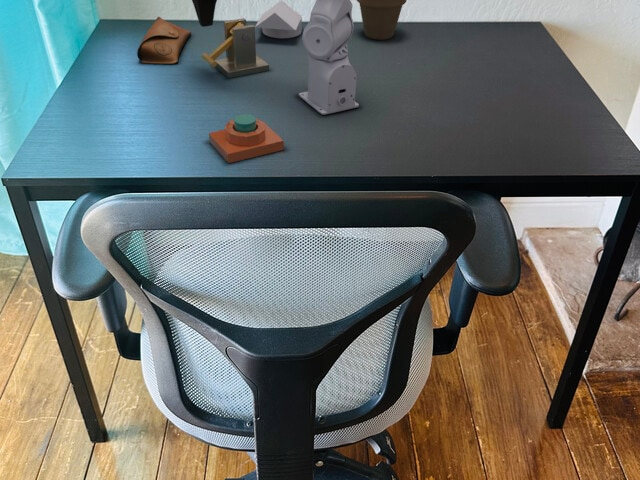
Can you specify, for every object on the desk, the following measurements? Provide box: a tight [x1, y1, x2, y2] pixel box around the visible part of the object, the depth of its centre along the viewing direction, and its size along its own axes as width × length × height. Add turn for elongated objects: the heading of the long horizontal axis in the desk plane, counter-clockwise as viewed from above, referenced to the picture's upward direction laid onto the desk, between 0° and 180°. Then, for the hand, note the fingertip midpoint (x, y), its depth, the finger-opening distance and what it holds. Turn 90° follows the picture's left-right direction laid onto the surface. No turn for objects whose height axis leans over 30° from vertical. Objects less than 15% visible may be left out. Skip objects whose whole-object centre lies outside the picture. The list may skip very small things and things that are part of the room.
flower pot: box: [356, 0, 407, 41], centre depth 148 cm, size 12×11×10 cm
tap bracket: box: [214, 17, 270, 79], centre depth 132 cm, size 9×7×9 cm
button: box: [233, 113, 257, 133], centre depth 108 cm, size 4×4×2 cm
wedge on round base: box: [254, 0, 303, 39], centre depth 148 cm, size 9×7×13 cm
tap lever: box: [201, 22, 244, 68], centre depth 131 cm, size 10×5×2 cm, turn 120°
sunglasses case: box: [136, 16, 192, 65], centre depth 141 cm, size 18×7×7 cm, turn 0°
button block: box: [208, 118, 285, 164], centre depth 110 cm, size 8×10×4 cm
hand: (206, 25), depth 125 cm, fingers closed
